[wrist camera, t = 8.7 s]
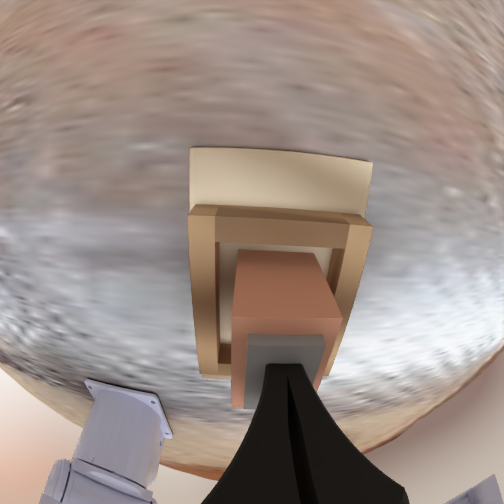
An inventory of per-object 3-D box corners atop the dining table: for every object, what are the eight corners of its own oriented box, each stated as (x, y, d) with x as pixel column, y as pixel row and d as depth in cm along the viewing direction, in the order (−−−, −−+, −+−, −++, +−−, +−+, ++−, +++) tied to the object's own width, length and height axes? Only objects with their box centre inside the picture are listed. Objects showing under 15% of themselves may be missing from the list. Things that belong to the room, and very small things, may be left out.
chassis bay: (317, 374, 20) (322, 398, 17) (203, 372, 19) (198, 396, 17) (368, 161, 13) (388, 168, 10) (192, 147, 12) (180, 150, 10)
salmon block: (298, 336, 17) (312, 415, 11) (235, 334, 17) (230, 416, 11) (313, 252, 14) (347, 328, 9) (238, 249, 14) (230, 327, 9)
